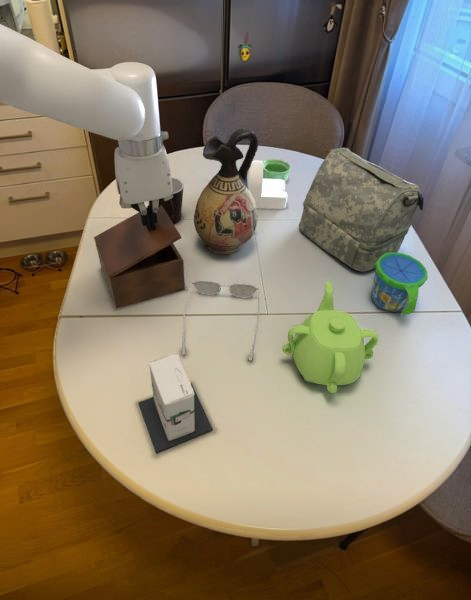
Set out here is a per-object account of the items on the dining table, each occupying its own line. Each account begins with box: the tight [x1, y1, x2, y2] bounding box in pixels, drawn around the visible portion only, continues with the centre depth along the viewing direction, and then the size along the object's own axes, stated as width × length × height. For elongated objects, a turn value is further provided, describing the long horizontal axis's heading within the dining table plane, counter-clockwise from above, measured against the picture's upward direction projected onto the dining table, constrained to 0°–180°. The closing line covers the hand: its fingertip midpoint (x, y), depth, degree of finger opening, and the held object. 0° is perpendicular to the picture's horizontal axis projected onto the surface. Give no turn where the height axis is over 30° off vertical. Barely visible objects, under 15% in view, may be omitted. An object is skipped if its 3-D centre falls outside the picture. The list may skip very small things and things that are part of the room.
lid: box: [93, 205, 182, 278], centre depth 88 cm, size 16×14×1 cm
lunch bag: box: [298, 147, 425, 272], centre depth 103 cm, size 26×18×22 cm
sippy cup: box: [371, 252, 429, 316], centre depth 92 cm, size 16×10×10 cm
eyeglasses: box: [181, 279, 261, 362], centre depth 87 cm, size 15×18×4 cm
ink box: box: [148, 352, 195, 441], centre depth 68 cm, size 9×5×12 cm, turn 25°
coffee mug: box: [162, 176, 185, 225], centre depth 110 cm, size 12×9×10 cm
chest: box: [94, 241, 186, 310], centre depth 93 cm, size 16×14×9 cm
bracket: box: [247, 159, 288, 210], centre depth 119 cm, size 19×10×11 cm, turn 91°
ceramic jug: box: [193, 128, 259, 255], centre depth 97 cm, size 17×15×30 cm
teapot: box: [282, 280, 379, 394], centre depth 78 cm, size 16×14×13 cm
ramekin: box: [263, 158, 291, 183], centre depth 131 cm, size 9×9×4 cm
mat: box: [138, 382, 214, 454], centre depth 72 cm, size 10×10×1 cm
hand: (150, 226), depth 88 cm, fingers closed
